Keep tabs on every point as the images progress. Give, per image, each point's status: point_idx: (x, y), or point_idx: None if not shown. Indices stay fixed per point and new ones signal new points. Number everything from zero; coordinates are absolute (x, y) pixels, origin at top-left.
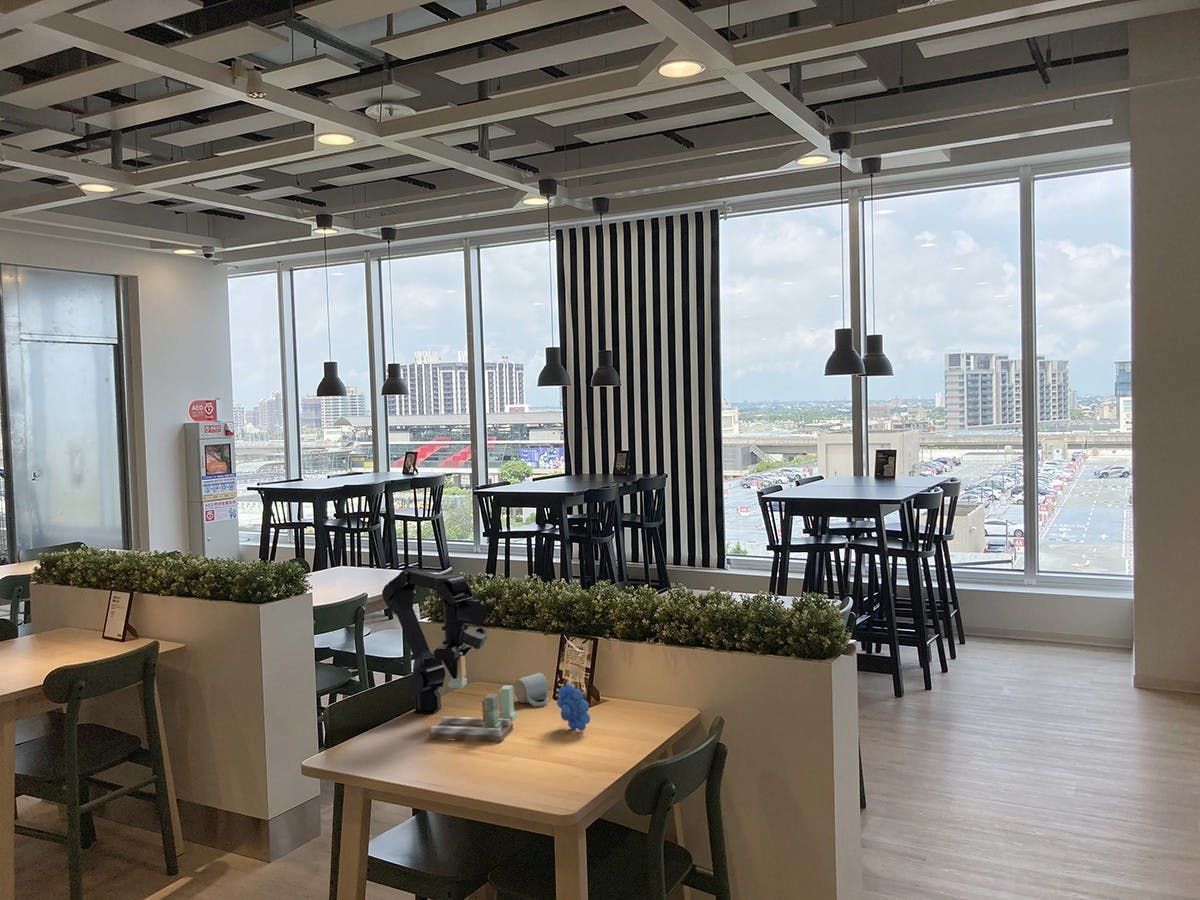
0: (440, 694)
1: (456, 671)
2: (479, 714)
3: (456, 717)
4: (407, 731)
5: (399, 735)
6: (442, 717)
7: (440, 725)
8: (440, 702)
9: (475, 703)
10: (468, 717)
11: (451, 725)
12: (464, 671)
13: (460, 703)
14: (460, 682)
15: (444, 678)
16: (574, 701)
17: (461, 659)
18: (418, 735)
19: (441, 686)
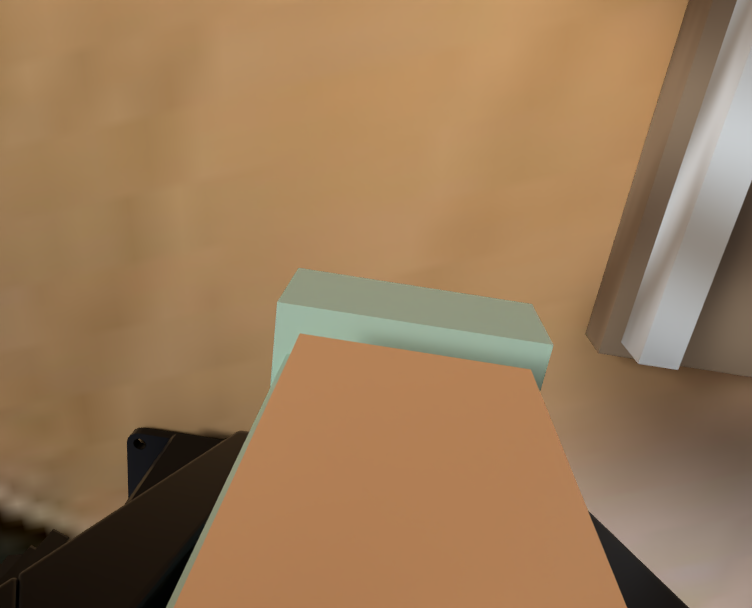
0: (135, 497)
1: (666, 593)
2: (289, 90)
3: (696, 240)
4: (642, 536)
5: (714, 564)
6: (662, 367)
7: (709, 350)
8: (170, 455)
9: (2, 192)
10: (729, 111)
11: (737, 260)
12: (368, 400)
13: (27, 313)
14: (542, 362)
15: (7, 580)
16: None
17: None
18: (749, 459)
19: (67, 539)
